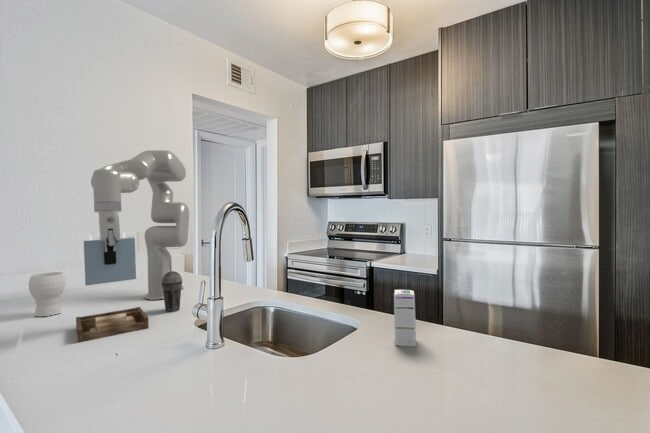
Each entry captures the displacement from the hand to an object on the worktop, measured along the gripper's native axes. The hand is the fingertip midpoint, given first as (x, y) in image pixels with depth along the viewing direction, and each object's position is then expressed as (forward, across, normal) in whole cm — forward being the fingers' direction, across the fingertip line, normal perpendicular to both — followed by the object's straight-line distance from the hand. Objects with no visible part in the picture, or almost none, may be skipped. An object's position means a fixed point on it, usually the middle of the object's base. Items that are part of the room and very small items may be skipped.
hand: (109, 263), depth 110 cm
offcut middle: (+19, -8, 0) cm, 20 cm away
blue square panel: (+6, 0, 0) cm, 6 cm away
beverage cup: (+22, +3, -20) cm, 29 cm away
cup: (+22, +32, +17) cm, 42 cm away
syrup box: (+21, -70, -64) cm, 97 cm away
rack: (+21, -5, 0) cm, 22 cm away
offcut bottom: (+20, -8, 0) cm, 22 cm away
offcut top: (+17, -8, +1) cm, 19 cm away
